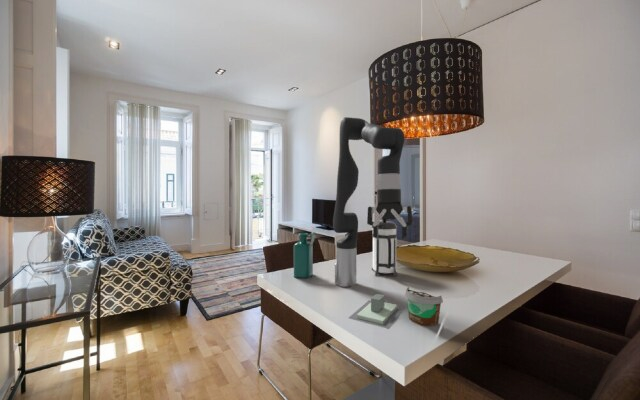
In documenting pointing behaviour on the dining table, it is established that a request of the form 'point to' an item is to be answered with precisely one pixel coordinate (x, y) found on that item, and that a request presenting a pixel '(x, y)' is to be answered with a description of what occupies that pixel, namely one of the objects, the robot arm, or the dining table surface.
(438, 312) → the food container
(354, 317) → the mat
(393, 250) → the coffee press
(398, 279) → the dining table surface
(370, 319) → the lid
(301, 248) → the green bottle
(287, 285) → the dining table surface
